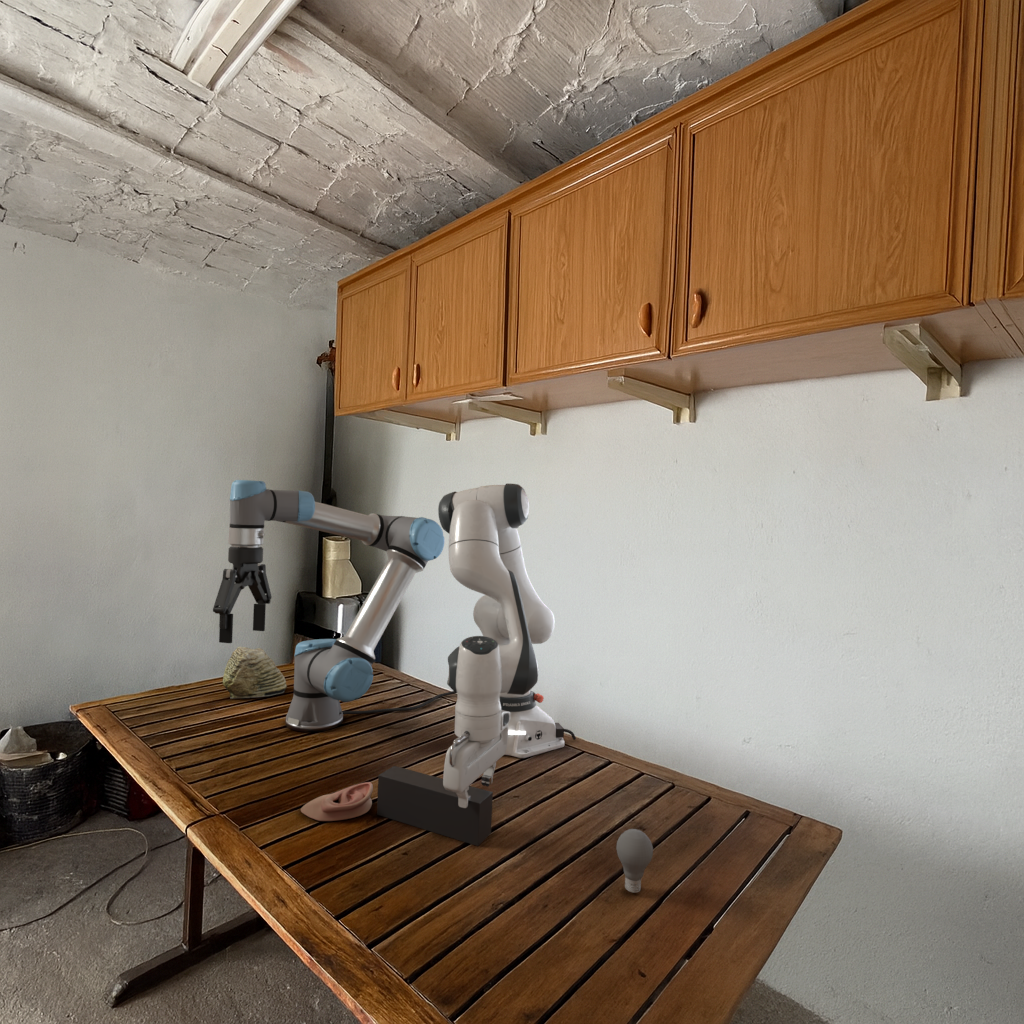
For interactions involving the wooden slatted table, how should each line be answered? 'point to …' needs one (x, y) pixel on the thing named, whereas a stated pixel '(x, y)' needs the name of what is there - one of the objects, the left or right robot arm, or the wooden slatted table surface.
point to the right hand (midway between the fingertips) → (476, 794)
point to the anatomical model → (341, 804)
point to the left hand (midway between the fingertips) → (242, 636)
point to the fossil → (252, 674)
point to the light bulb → (634, 857)
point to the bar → (434, 805)
